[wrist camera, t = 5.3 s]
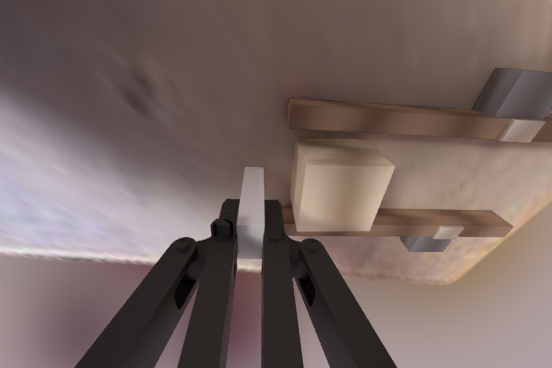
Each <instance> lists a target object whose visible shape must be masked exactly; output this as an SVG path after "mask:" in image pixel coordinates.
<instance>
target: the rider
mask: <svg viewBox="0 0 552 368" xmlns="http://www.w3.org/2000/svg"><path fill="white" fill-rule="evenodd" d="M395 167H396V166H394V165H393V164H392V163H391V162H390V161H389V160H388V159H387V158H386V157H384V156H383V155H382V154H381V153H380V152H379V151H378V150H377V149H376V148H374V147H373V146H372V145H371V144H370V143H369V142H368V141H367V140H366V139H332V138H296V144H295V154H294V163H293V173H292V182H291V192H290V198H291V203H292V208H293V214H294V219H295V224H296V229H297V232H321V231H370V229H371V226H372V224H373V221H374V219H375V216H376V214H377V211H378V209H379V206H380V204H381V201H382V199H383V196H384V194H385V191H386V189H387V187H388V184H389V182H390V179H391V177H392V174H393V172H394V169H395Z"/></svg>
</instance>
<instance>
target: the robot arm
mask: <svg viewBox="0 0 552 368" xmlns="http://www.w3.org/2000/svg"><path fill="white" fill-rule="evenodd" d="M210 226H211V235H212V236H211V237H209V238H207V239H205V240H201V241H197V242H196V241H195V240H194V239H192V238H190V237H184V238H180V239H178V240H176V241H174V242H173V243H172V244H171V245H170V246H169V248H168V249H167V250H166V252H165V253H164V254H163V255H162V257H161V258H160V259H159V260H158V262H157V263H156V264H155V266H154V267H153V268H152V269H151V271H150V272H149V273H148V275H147V276H146V277H145V278H144V280H143V281H142V282H141V284H140V285H139V286H138V287H137V289H136V290H135V291H134V292H133V294H132V295H131V296H130V298H129V299H128V300H127V301H126V303H125V304H124V305H123V306H122V308H121V309H120V310H119V311H118V313H117V314H116V315H115V317H114V318H113V319H112V320H111V322H110V323H109V324H108V325H107V327H106V328H105V329H104V331H103V332H102V333H101V335H100V336H99V337H98V338H97V339H96V341H95V342H94V343H93V345H92V346H91V347H90V349H89V350H88V351H87V352H86V353H85V355H84V356H83V357H82V359H81V360H80V361H79V362H78V364H77V365H76V366H75V367H74V368H154V367H155V365H156V363H157V361H158V360H159V358H160V356H161V354H162V352H163V350H164V348H165V346H166V345H167V343H168V341H169V339H170V337H171V335H172V333H173V331H174V329H175V328H176V326H177V324H178V322H179V320H180V318H181V316H182V314H183V313H184V311H185V309H186V307H187V305H188V303H189V301H190V299H191V297H192V295H193V294H194V292H195V290H196V288H197V286H198V284H199V287H198V291H197V295H196V299H195V302H194V306H193V310H192V314H191V318H190V321H189V325H188V329H187V333H186V337H185V340H184V345H183V348H182V352H181V356H180V359H179V363H178V367H177V368H226V361H227V352H228V343H229V333H230V325H231V316H232V307H233V298H234V289H235V280H236V272H237V258H256V259H262V271H261V274H262V318H261V321H262V322H261V324H262V325H261V327H262V329H261V334H262V335H261V368H304V367H303V359H302V351H301V343H300V335H299V327H298V319H297V312H296V304H295V296H294V288H293V281H292V277H294V278H295V281H296V283H297V286H298V288H299V291H300V293H301V295H302V298H303V301H304V303H305V306H306V308H307V311H308V313H309V316H310V318H311V321H312V323H313V326H314V328H315V331H316V333H317V336H318V338H319V341H320V343H321V346H322V348H323V351H324V353H325V356H326V358H327V361H328V363H329V366H330V368H397V367H396V365H395V363H394V362H393V360H392V359H391V357H390V356H389V354H388V352H387V350H386V349H385V347H384V345H383V344H382V342H381V341H380V339H379V337H378V336H377V334H376V332H375V330H374V329H373V327H372V325H371V324H370V322H369V320H368V319H367V317H366V316H365V314H364V312H363V311H362V309H361V307H360V306H359V304H358V302H357V301H356V299H355V297H354V296H353V294H352V292H351V291H350V289H349V287H348V286H347V284H346V282H345V281H344V279H343V277H342V276H341V274H340V273H339V271H338V269H337V268H336V266H335V264H334V263H333V261H332V259H331V258H330V256H329V254H328V253H327V251H326V249H325V248H324V246H323V245H322V244H321V242H319V241H318V240H315V239H312V238H311V239H305V240H303V241H302V242H298V241H295V240H292V239H291V238H289V237H288V236H287V235H286V233H285V231H284V222H283V215H282V206H281V204H280V202H279V201H278V200H264V167H245V170H244V177H243V184H242V191H241V197H240V199H226V201H225V202H224V203H223V204H222V208H221V212H220V216H219V219H216V220H215V221H213V222H212V224H211V225H210ZM199 282H200V283H199Z"/></svg>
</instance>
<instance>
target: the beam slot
mask: <svg viewBox="0 0 552 368" xmlns="http://www.w3.org/2000/svg"><path fill="white" fill-rule="evenodd" d="M551 108H552V73H551V72H540V71H528V70H516V69H504V68H495V69H494V71H493V73H492V75H491V77H490V78H489V80H488V82H487V84H486V85H485V87H484V89H483V91H482V93H481V94H480V96H479V98H478V100H477V101H476V103H475V105H474V107H473V109H472V110H468V109H452V108H437V107H421V106H405V105H389V104H374V103H358V102H342V101H326V100H311V99H295V98H289V103H288V113H287V120H288V123H289V125H290V128H291V129H307V130H327V131H346V132H366V133H386V134H405V135H425V136H445V137H464V138H484V139H497V140H499V141H504V142H524V143H530V142H531V141H543V142H552V115H547V114H548V112H549V111H550V110H551ZM282 215H283V222H284V231H285V233H286V235H287V236H401V237H400V239H401V241H402V242H403V243H404V245H405V246H406V247H407V249H408V250H409V252H443V251H444V250H445V248H446V247H447V246H448V244H449V243H450V242H451V240H452V239H456V238H457V237H505V235H506V234H507V233H508V232H509V231H510V230H511V229H512V228H513V226H512V225H511V224H509V223H508V222H506V221H505V220H504V219H502V218H501V217H500V216H498V215H497V214H495V213H494V212H493V211H480V210H426V209H378V211H377V214H376V216H375V219H374V221H373V224H372V226H371V229H370V231H321V232H297V229H296V224H295V219H294V214H293V208H292V207H282Z"/></svg>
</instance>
